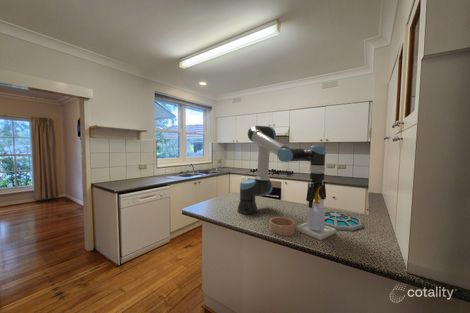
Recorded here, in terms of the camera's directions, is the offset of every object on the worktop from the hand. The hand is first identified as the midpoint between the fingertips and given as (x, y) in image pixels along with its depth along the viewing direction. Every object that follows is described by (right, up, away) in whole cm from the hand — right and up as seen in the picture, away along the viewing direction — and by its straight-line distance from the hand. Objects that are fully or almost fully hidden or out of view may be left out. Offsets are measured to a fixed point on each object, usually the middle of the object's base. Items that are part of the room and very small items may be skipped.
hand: (316, 211), depth 110 cm
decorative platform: (+20, -12, +17) cm, 29 cm away
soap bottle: (0, -10, 0) cm, 10 cm away
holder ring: (-19, -12, +3) cm, 22 cm away
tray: (0, -12, +1) cm, 12 cm away
